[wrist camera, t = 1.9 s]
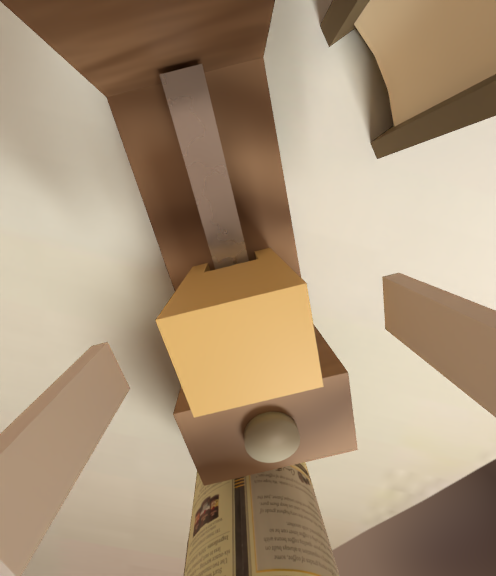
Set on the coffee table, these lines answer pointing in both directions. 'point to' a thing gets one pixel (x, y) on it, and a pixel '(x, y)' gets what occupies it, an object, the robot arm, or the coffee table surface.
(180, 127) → the bar
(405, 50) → the book
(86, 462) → the robot arm
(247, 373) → the carriage
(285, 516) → the coffee can
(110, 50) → the wooden base
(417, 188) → the coffee table surface
